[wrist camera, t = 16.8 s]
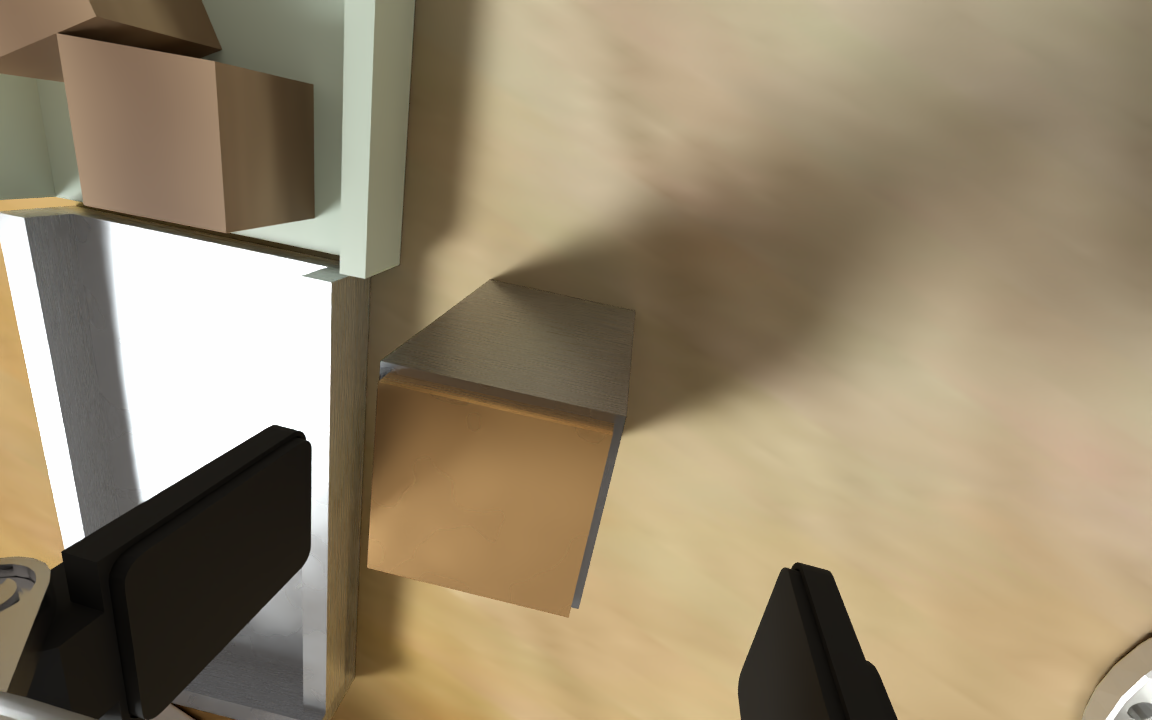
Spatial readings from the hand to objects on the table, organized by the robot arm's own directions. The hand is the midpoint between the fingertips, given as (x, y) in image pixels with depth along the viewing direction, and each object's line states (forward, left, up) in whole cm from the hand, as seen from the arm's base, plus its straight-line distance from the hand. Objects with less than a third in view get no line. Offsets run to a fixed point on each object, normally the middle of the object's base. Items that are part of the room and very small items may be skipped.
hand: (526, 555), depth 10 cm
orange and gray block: (+1, 0, -9) cm, 9 cm away
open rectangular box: (+13, +7, -9) cm, 18 cm away
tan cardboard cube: (+12, -6, -9) cm, 16 cm away
